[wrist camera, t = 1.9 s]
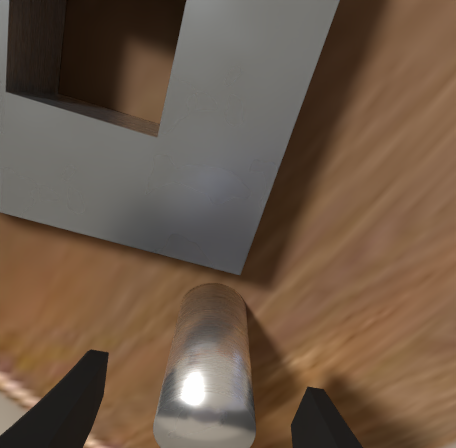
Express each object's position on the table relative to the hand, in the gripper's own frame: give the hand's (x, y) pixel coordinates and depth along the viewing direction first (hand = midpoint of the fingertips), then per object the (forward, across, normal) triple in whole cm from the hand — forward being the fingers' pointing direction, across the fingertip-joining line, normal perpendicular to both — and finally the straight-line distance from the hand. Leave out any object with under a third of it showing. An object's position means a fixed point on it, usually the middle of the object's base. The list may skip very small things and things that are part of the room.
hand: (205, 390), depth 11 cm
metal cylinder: (+4, 0, 0) cm, 5 cm away
